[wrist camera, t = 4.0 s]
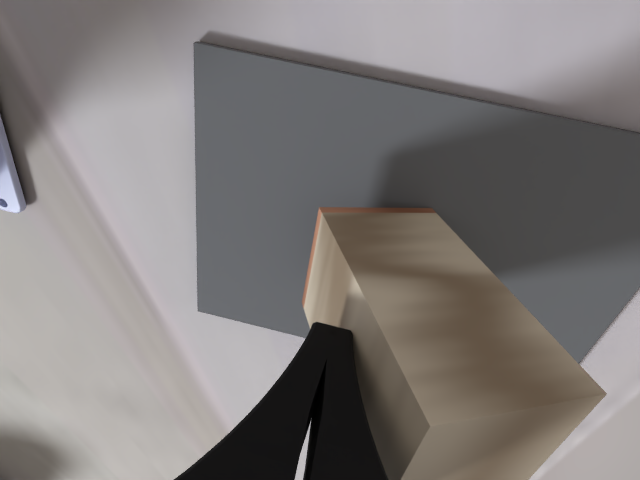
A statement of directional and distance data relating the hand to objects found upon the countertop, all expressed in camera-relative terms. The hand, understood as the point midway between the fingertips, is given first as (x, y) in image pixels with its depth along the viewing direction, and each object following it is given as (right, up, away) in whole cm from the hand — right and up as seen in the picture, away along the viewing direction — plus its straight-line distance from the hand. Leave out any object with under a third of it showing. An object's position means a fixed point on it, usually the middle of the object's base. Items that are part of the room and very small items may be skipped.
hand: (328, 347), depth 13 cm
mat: (+4, +3, +6) cm, 7 cm away
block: (+2, +3, +5) cm, 6 cm away
